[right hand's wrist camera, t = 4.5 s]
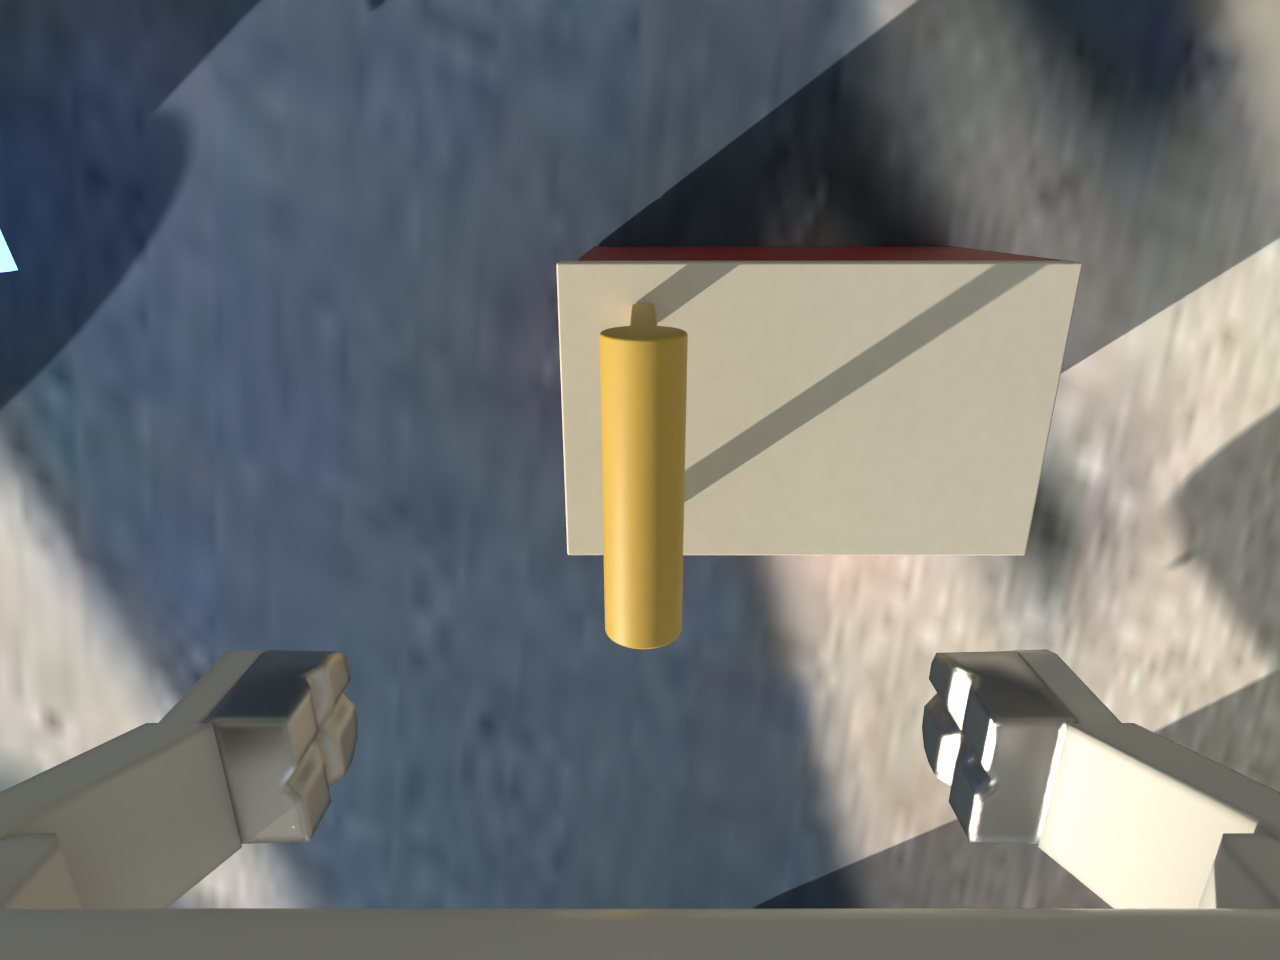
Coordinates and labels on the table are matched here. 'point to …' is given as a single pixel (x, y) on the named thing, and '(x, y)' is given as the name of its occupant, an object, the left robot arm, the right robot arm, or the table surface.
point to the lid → (800, 413)
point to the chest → (800, 254)
